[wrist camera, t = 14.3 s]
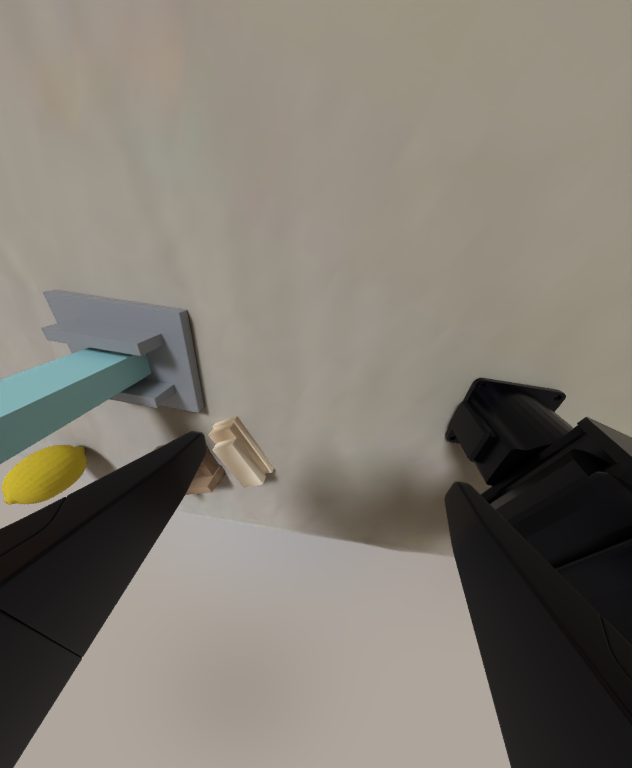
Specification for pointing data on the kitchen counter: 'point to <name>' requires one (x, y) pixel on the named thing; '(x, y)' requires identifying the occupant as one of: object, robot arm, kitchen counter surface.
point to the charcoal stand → (133, 344)
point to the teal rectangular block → (61, 394)
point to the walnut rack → (206, 475)
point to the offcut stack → (240, 452)
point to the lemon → (44, 474)
